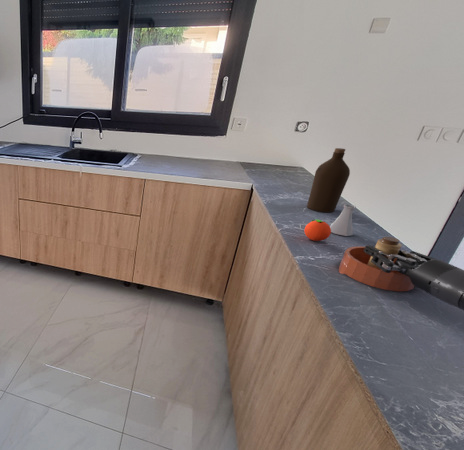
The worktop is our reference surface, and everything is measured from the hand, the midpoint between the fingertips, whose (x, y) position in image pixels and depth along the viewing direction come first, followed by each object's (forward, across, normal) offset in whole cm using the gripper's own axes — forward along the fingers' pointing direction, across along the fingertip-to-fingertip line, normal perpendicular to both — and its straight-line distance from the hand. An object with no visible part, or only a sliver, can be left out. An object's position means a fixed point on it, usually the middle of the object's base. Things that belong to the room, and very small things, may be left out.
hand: (375, 248), depth 83 cm
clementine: (+21, -2, +8) cm, 23 cm away
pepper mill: (-3, 0, +6) cm, 7 cm away
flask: (+26, -16, +8) cm, 31 cm away
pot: (-3, 0, +8) cm, 8 cm away
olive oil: (+48, -27, +8) cm, 56 cm away
